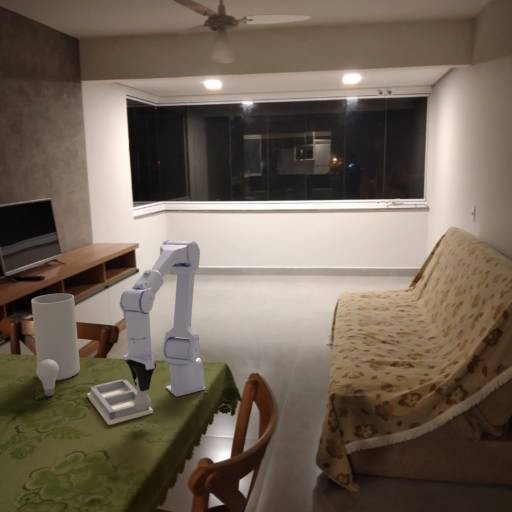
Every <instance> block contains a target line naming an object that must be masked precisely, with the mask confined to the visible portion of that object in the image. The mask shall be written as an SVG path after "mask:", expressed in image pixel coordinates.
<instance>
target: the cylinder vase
mask: <svg viewBox="0 0 512 512" xmlns="http://www.w3.org/2000/svg"><path fill="white" fill-rule="evenodd" d="M31 312H32V321H33V331H34V341H35V342H34V343H35V353H36V361H37V365H38V364H39V363H40V362H42V361H43V360H47V359H50V360H53V361H55V362H56V363H57V364H58V366H59V373H58V375H57V377H56V380H57V381H63V380H66V379H70V378H73V377H74V376H76V375H77V374H78V373H79V372H80V369H81V368H80V367H81V366H80V353H79V343H78V342H79V341H78V328H77V319H76V316H77V315H76V305H75V296H74V295H73V294H70V293H51V294H44V295H39V296H36V297H33V298H32V299H31ZM72 376H73V377H72ZM56 380H55V382H56Z"/></svg>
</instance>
